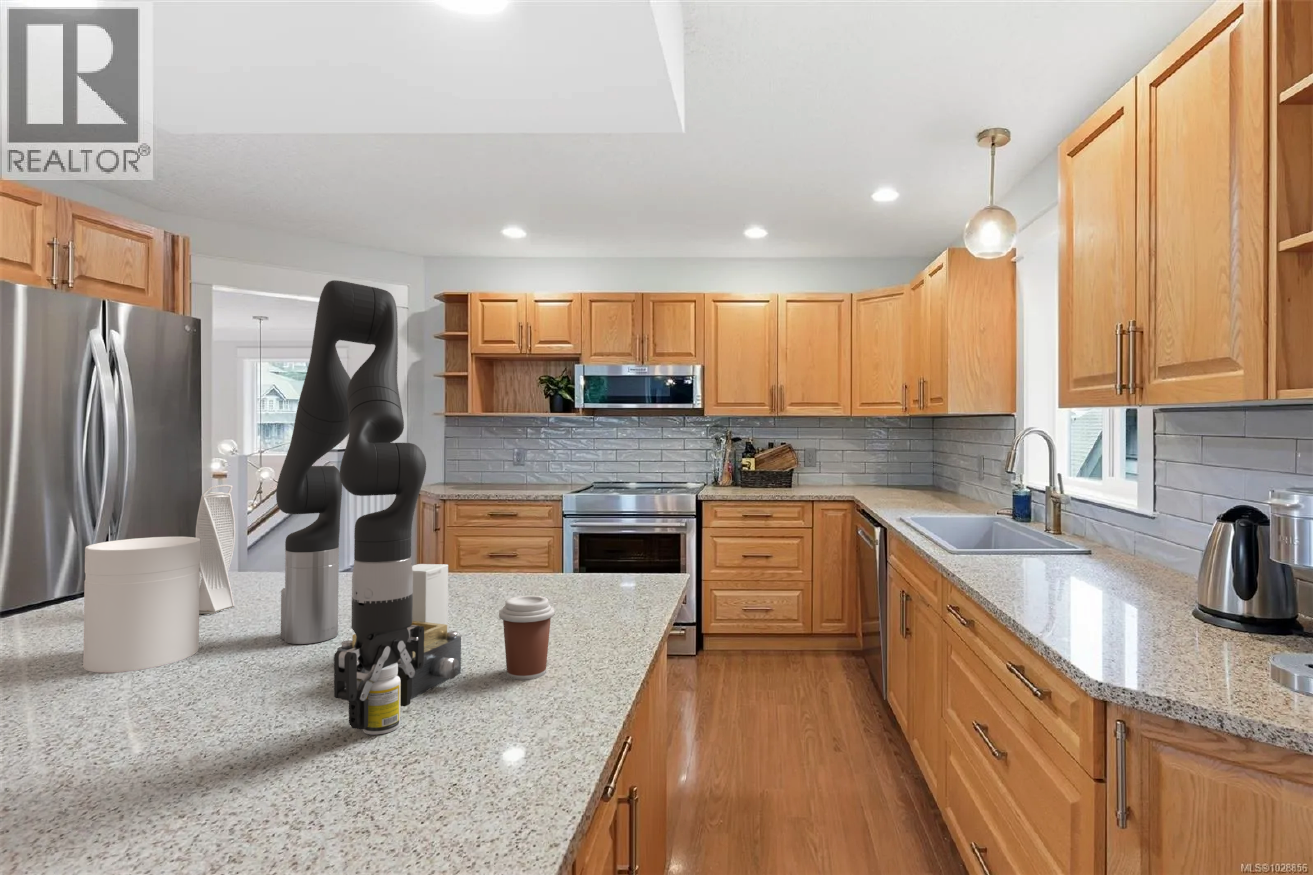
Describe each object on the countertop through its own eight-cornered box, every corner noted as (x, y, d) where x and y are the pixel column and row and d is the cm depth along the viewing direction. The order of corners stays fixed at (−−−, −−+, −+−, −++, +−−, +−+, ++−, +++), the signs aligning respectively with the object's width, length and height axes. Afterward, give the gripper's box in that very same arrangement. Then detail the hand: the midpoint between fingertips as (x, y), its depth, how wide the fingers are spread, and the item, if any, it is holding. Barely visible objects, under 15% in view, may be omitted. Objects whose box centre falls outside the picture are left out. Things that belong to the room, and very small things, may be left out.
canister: (218, 650, 119) (220, 540, 119) (115, 678, 104) (117, 553, 104) (166, 638, 126) (168, 534, 126) (62, 663, 111) (64, 546, 111)
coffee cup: (506, 686, 102) (506, 609, 102) (492, 668, 110) (492, 597, 110) (561, 677, 106) (562, 603, 106) (544, 660, 114) (545, 591, 114)
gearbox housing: (336, 687, 101) (337, 635, 101) (392, 662, 112) (393, 616, 113) (426, 702, 95) (427, 647, 95) (476, 675, 107) (476, 626, 107)
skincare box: (424, 662, 113) (425, 571, 113) (390, 659, 114) (391, 570, 114) (449, 647, 121) (450, 563, 121) (417, 645, 123) (418, 561, 123)
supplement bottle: (369, 720, 89) (370, 658, 89) (404, 719, 90) (405, 658, 90) (356, 736, 84) (357, 671, 84) (393, 735, 85) (394, 670, 85)
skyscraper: (212, 604, 152) (213, 484, 152) (243, 605, 151) (245, 484, 151) (181, 613, 143) (182, 486, 144) (214, 615, 142) (215, 486, 143)
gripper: (398, 579, 95) (397, 693, 95) (316, 601, 82) (315, 734, 81) (441, 583, 93) (440, 700, 92) (364, 607, 79) (362, 743, 79)
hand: (381, 715), depth 87 cm, fingers open, 7 cm apart
